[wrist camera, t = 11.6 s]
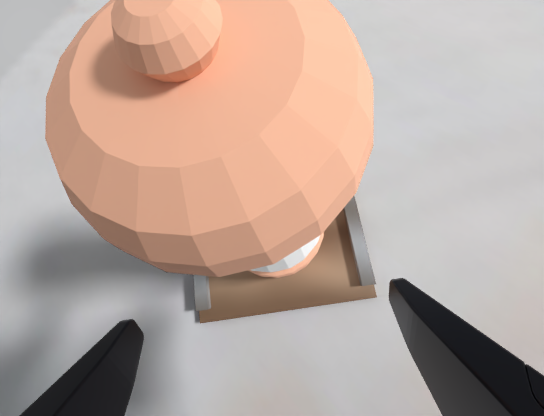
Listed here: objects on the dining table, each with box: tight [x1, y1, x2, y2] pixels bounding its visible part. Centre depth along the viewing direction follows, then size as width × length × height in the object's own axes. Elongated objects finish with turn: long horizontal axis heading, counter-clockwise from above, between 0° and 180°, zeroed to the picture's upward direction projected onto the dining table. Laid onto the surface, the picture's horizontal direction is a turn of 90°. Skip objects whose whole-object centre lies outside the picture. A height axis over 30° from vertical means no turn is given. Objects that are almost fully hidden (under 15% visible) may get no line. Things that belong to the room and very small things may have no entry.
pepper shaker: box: [45, 0, 373, 278], centre depth 13 cm, size 7×7×19 cm
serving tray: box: [193, 196, 377, 323], centre depth 22 cm, size 13×14×1 cm
